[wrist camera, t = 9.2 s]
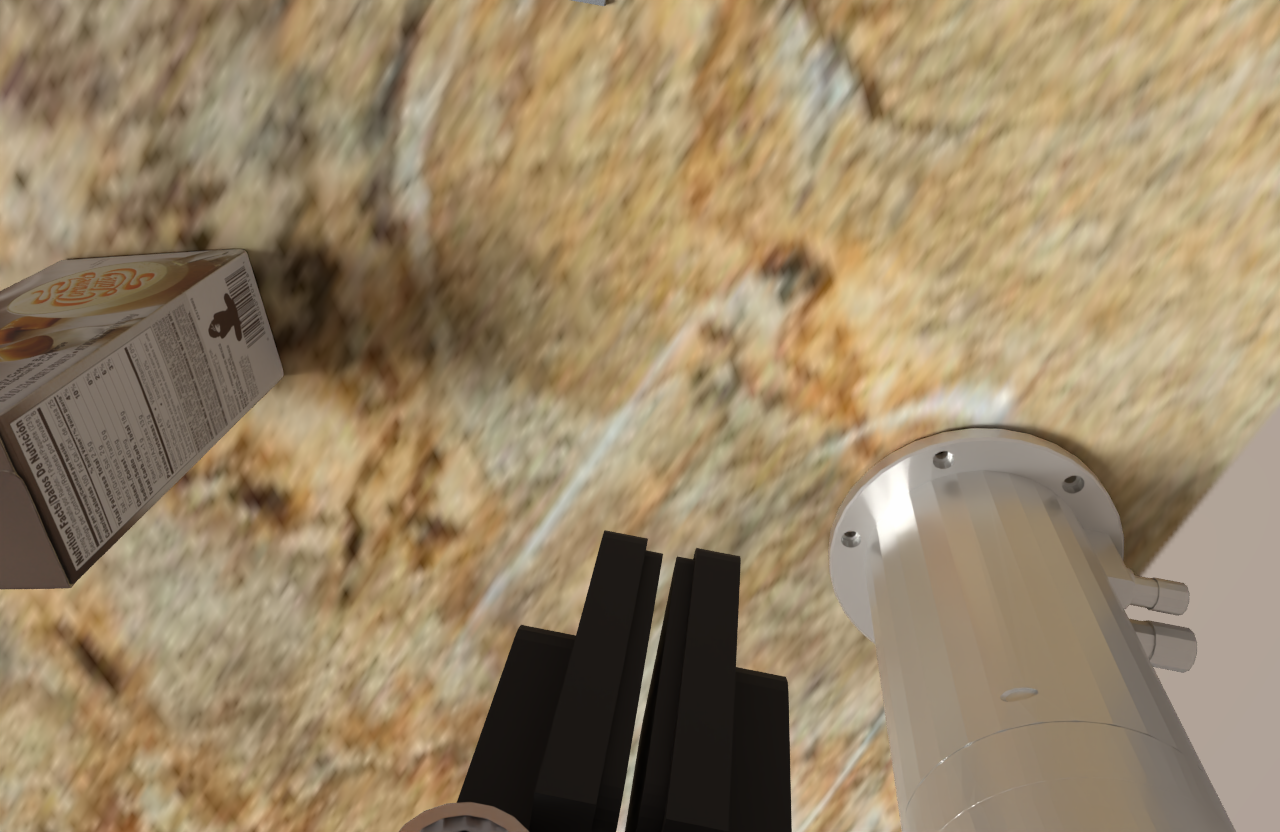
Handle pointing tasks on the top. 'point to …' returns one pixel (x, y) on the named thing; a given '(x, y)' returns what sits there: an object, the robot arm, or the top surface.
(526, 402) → the top surface
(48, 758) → the top surface
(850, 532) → the robot arm
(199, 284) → the coffee box
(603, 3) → the slate mat
